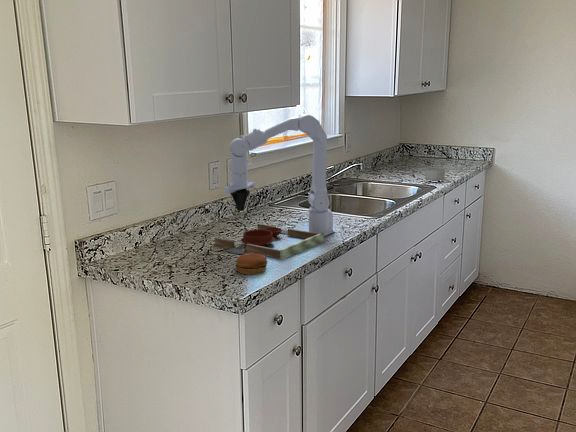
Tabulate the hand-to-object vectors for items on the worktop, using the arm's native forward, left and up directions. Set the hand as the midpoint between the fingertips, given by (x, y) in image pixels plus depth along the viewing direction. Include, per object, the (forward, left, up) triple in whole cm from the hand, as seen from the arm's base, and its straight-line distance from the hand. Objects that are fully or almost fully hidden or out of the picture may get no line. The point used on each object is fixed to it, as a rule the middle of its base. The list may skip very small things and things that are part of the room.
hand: (240, 210), depth 205 cm
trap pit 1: (+14, +10, -10) cm, 20 cm away
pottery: (0, +10, -11) cm, 15 cm away
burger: (+26, +26, -11) cm, 38 cm away
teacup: (-150, +16, -10) cm, 151 cm away
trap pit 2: (-15, +10, -10) cm, 20 cm away
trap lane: (0, +13, -10) cm, 17 cm away
